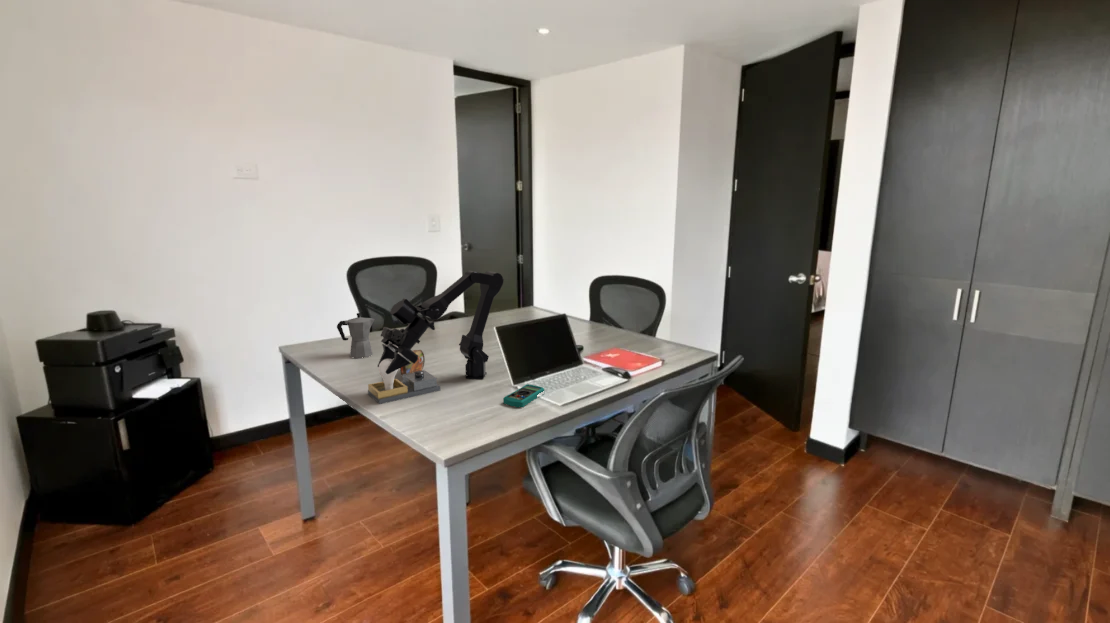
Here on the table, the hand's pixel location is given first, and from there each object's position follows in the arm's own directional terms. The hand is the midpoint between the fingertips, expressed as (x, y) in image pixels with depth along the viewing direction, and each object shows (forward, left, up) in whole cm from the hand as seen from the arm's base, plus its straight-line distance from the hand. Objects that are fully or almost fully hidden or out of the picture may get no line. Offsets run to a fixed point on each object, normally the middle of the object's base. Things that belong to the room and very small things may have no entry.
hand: (382, 370), depth 164 cm
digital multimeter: (-46, -3, -10) cm, 47 cm away
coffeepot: (+28, -43, -9) cm, 52 cm away
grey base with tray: (-5, -5, -9) cm, 11 cm away
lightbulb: (-1, -1, -8) cm, 8 cm away
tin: (-2, -23, -9) cm, 25 cm away
